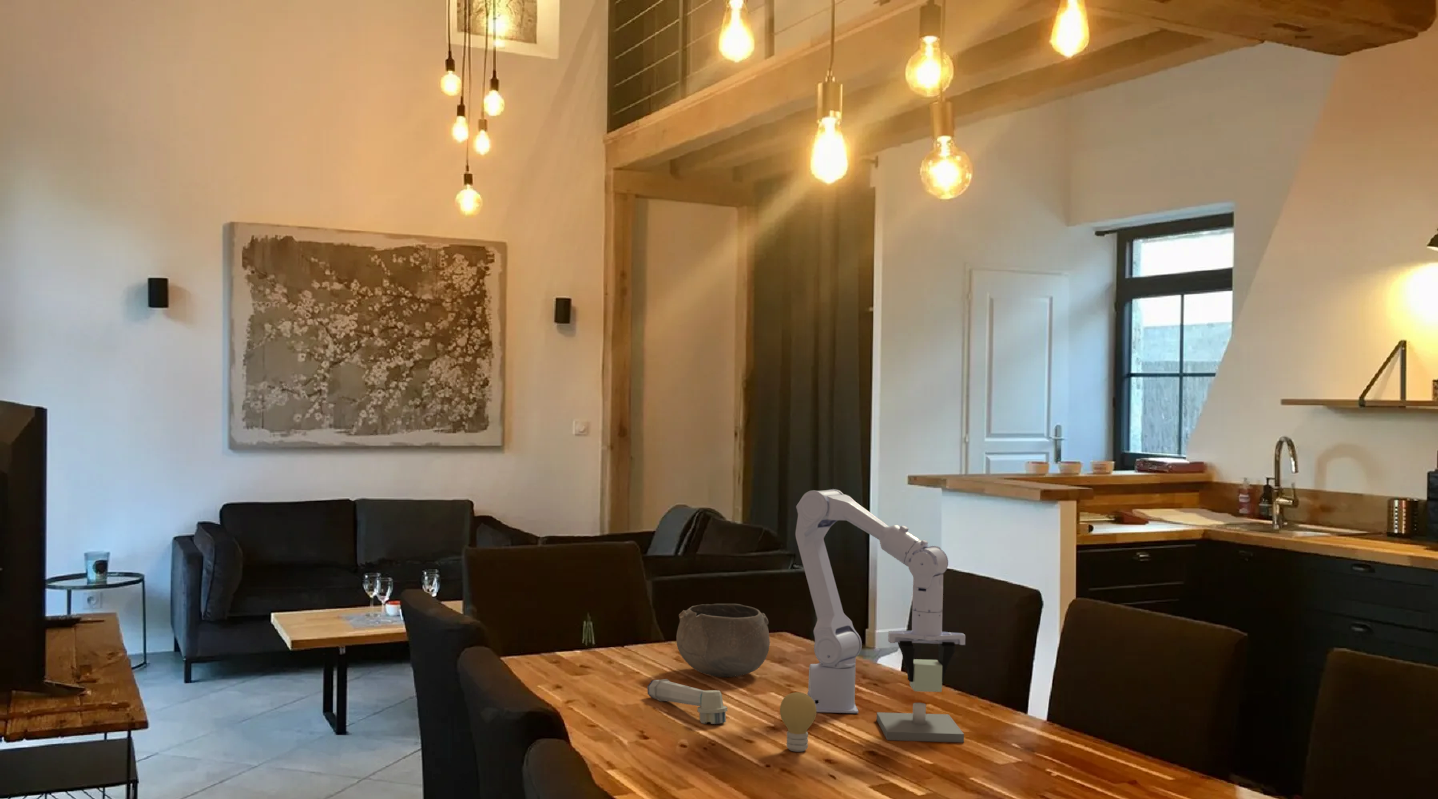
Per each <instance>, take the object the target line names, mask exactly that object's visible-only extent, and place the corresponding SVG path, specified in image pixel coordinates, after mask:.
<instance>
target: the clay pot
mask: <svg viewBox="0 0 1438 799" xmlns="http://www.w3.org/2000/svg"><path fill="white" fill-rule="evenodd" d="M678 617H679V623H678V627H677V630H676V648H677V650H678V653H679V654H680V656H681V657H682V659H683V660H684V662H685V663H687V664H688V665H689V667H691V668H692V669H694V670H695V671H697V672H699V673H701V674H703V675H708V676H711V677H717V678H734V677H740V676H746V675H748V674H750V673H752V672H754V671H756V670H758V669H759V668H761V666H762V665H763V664H764V662H765V660H766V659H767V656H768V654H769V650H770V645H771V641H770V633H769V626H768V625H769V619H768V617H767V615H766V614H765V613H764V612H761V611H760V610H759V609H758V608H755V607H752V606H749V605H743V604H740V603H712V604H709V603H706V604H704V603H703V604H697V605H692V606H691V607H689V608H687V609H686V610H684V609H683V610H682V611H681V612H680V613H679V614H678Z"/></svg>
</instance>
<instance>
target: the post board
mask: <svg viewBox="0 0 1438 799" xmlns="http://www.w3.org/2000/svg"><path fill="white" fill-rule="evenodd" d="M926 711H927V705H926V703H923V702H913V703H912V712H911V713H910V712H909V713H907V712H884V711H883V712H881V711H880V712H879V711H877V712H876V722H877V723H878V725H879V727H880V729H881V732H882V733H883V736H884V737H885V739H886V740H887V741H903V742H904V741H905V742H906V741H907V742H936V743H938V742H941V743H942V742H943V743H964V742H965V733H964V732H963V731H962V729H961V728H960V727H959V726H958V724H957V723H956V722H955V721H954V719H953V718H952V717H951V716H950V714H949V713H948V714H946V713H945V714H944V713H943V714H942V713H926Z"/></svg>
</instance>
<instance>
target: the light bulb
mask: <svg viewBox="0 0 1438 799" xmlns="http://www.w3.org/2000/svg"><path fill="white" fill-rule="evenodd" d="M781 700H782V701H781V702H780V706H779V715H780V717H781V720H782V722H783V724H784V725H785V726H786V728H787V729H788V730H787V731H786V748H787V749H788V750H789V751H791V752H795V753H797V752H798V753H799V752H801V753H802V752H805V751H806V750H807V749H808V747H809V745H808V744H809V743H808V742H809V738H808V737H809V732H808V729H809V728H810V727H811V726H812V725H813V723H814V721H815V719H816V716H817V712H816V705H815V702H814V701H813V699H812V698H811V697H810V696H809V695H807V693H804V692H799V691H798V692H797V691H795V692H792V693H788V694H787V695H785V696H784V697H783V699H781Z"/></svg>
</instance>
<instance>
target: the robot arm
mask: <svg viewBox="0 0 1438 799" xmlns="http://www.w3.org/2000/svg"><path fill="white" fill-rule="evenodd" d="M795 508H796V512H797V520H796V527H795V540H796V543H797V546H798V547H797V548H798V551H799V555H800V559H801V562H802V567H803V569H804V573H805V576H806V580H807V584H808V588H809V592H810V593H809V594H810V596H811V600H812V603H813V607H814V610H815V616H816V618H817V619H816V620H817V621H816V623H815V626H814V628H813V631H812V632H813V636H814V645H813V651H814V655H815V658H816V659H817V661H819V662H818V663H810V664H809V666H808V691H807V693H806V694H807V695H809V696H810V697H811V698H812V699H813V701H814V702H815V705H816V713H835V714H836V713H838V714H841V713H842V714H858V713H859V710H858V706H856V700H855V697H856V696H855V694H856V693H855V692H856V665H857V663H856V662H857V661H856V660H857V659H856V658H857V657H858V656H859V655H860V653H861V651H862V646H863V645H862V644H863V643H862V638H861V636H860V635H859V633H858V632H857V630H856V629H855V627H854V625H853V621H852V620H851V619H850V618H849V617H848V616H847V615H846V614H845V613H844V610H843V605H842V602H841V598H840V594H839V591H838V588H837V584H836V580H835V577H834V573H833V569H832V566H831V561H830V558H829V554H828V551H827V547H826V543H825V540H824V538H825V537H826V534H827V533H828V531H829V530H830V528H831V527H832V526H833V525H835V523H836V522H838V521H847V522H848V523H850V524H852V525H853V526H855V527H857V529H860V530H862V531H864V532H865V533H867V534H868V535H870V536H872V537H873V538H875V539H877V540H878V541H879V544H880V548H881V549H882V551H884V552H885V553H887V554H889V555H890V556H891V557H893V558H894V559H895V560H897V561H899V562H900V563H901V564H903V565H904V566H906V567H908V570H909V572H910V573H911V576H912V577H913V582H912V583H913V584H912V610H911V612H912V613H911V614H912V616H911V630H898V631H897V630H896V631H895V630H893V631H892V630H890V631H889V630H888V632H887V633H888V634H887V635H888V636H887V637H888V638H887V641H888V643H890V644H896V643H897V645H898V648H899V650H900V653H901V655H902V658H903V661H904V664H905V665H904V666H905V668H906V674H907V681H909V683H910V682H913V678H914V673H913V661H914V659H915V658H914V657H915V647H914V644H937V650H938V662H939V663H940V664H941V665H942V684H943V683H944V682H945V676H946V673H947V670H948V667H949V664H950V662H951V659H952V657H953V656H954V654H955V653H956V648H957V646H955V645H960V646H966V634H964V633H963V632H950V631H949V632H948V631H943V611H944V610H943V603H944V602H943V601H944V599H943V598H944V595H943V594H944V574H945V572H946V571H947V569H948V566H949V558H948V556H947V554H946V553H945V551H944V550H942V548H941V547H940V546H937V545H930V546H929V542H928V541H927V540H925V539H922V540H921V539H920V538H918V537H917V536H915V535H914V534H912V533H911V532H909V530H910V529H909V527H908V526H906V525H899V524H894V525H890V526H889V525H888V524H886V523H885V522H884V521H883V520H881V519H880V518H879V517H877V516H875V515H874V514H872V512H870V511H869V510H867V509H866V508H865V507H863V506H862V505H860V504H859V503H858V502H856V500H854V499H853V498H852V497H851V496H850V495H849V494H844V493H843V492H842V491H841V490H839V489H836V488H835V489H834V488H832V489H831V488H829V489H826V490H814V489H813V490H809V491H807V492H805V493H804V494H803V495H802V497H801V498H800V500H799V502H798V503H797V505H796V506H795Z"/></svg>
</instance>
